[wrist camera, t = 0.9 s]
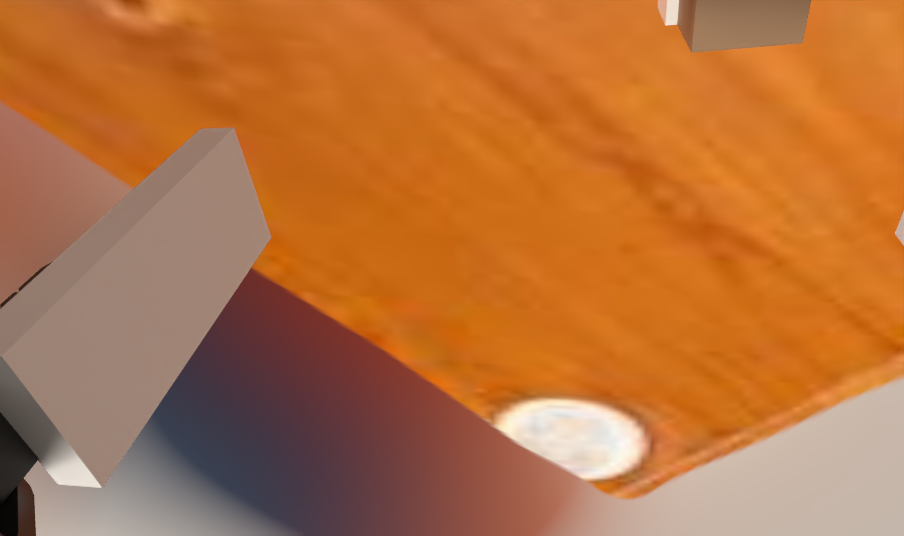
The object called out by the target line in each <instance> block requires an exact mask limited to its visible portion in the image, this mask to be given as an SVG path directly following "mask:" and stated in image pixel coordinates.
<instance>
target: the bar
mask: <svg viewBox="0 0 904 536" xmlns="http://www.w3.org/2000/svg"><path fill="white" fill-rule="evenodd" d="M810 3H811V0H679V8H678V21H677V25H678V27H679V29H680V31H681V33H682V35H683V37H684V39H685V41H686V43H687V45H688V46H689V48H690V50H691V52H704V51H716V50H728V49H739V48H751V47H763V46H775V45H787V44H799V43H803V39H804V33H805V28H806V23H807V18H808V13H809V8H810Z"/></svg>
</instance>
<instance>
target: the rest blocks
mask: <svg viewBox="0 0 904 536" xmlns="http://www.w3.org/2000/svg"><path fill="white" fill-rule="evenodd" d="M678 8H679V0H658V10H659V12H660V15H661V17H662V19H663V21H664V23H665V25H676V24H677V21H678Z"/></svg>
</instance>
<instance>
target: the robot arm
mask: <svg viewBox="0 0 904 536" xmlns="http://www.w3.org/2000/svg"><path fill="white" fill-rule="evenodd" d="M895 234H896V236H897V237H898V238H899V240H900V241H901V242H902V244H903V245H904V212H903V214H902V217H901V220H900V222H899V225H898V227H897V230H896V232H895ZM270 239H271V235H270V232H269V229H268V226H267V223H266V220H265V217H264V214H263V212H262V209H261V206H260V203H259V200H258V197H257V194H256V191H255V188H254V185H253V182H252V179H251V176H250V173H249V171H248V168H247V165H246V162H245V159H244V156H243V153H242V150H241V147H240V144H239V141H238V138H237V135H236V132H235V129H234V128H213V129H200V130H199V131H198V132H197V133H195V134H194V135H193V136H192V137H191V138H190V139H189V140H188V141H187V142H185V143H184V144H183V145H182V146H181V147H180V148H179V149H178V150H177V151H175V152H174V153H173V154H172V155H171V156H170V157H169V158H168V159H166V160H165V161H164V162H163V163H162V164H161V165H160V166H159V167H158V168H156V169H155V170H154V171H153V172H152V173H151V174H150V175H149V176H148V177H146V178H145V179H144V180H143V181H142V182H141V183H140V184H139V185H138V186H136V187H135V188H134V189H133V190H132V191H131V192H130V193H129V194H128V195H126V196H125V197H124V198H123V199H122V200H121V201H120V202H119V203H118V204H117V205H116V206H114V207H113V208H112V209H111V210H110V211H109V212H108V213H106V214H105V215H104V216H103V217H102V218H101V219H100V220H99V221H98V222H97V223H95V224H94V225H93V226H92V227H91V228H90V229H89V230H88V231H86V232H85V233H84V234H83V235H82V236H81V237H80V238H79V239H78V240H76V241H75V242H74V243H73V244H72V245H71V246H70V247H69V248H68V249H66V250H65V251H64V252H63V253H62V254H61V255H60V256H59V257H58V258H56V259H55V260H54V261H53V262H51V263H49V264H48V265H46V266H44V267H43V268H41V269H40V270H39V271H38V272H36V273H35V274H34V275H33V276H32V277H31V278H30V279H29V280H28V281H27V282H25V283H24V284H23V285H22V286H21V287H20V288H19V292H18V293H17V292H14V293H13V294H12V295H11V296H10V297H8V298H7V299H6V300H5V301H4V302H3V303H2V304H1V305H0V306H1V308H0V536H36V528H35V507H34V506H35V505H34V494H33V492H32V489H31V487H30V485H29V484H28V483H27V482H26V481H25V480H24V477H25V475H26V474H27V473H28V472H29V470H30V469H31V468H32V467H33V465H34V464H35V463H36V462H37V460H38V461H39V462H40V463H41V464H42V466H43V467H44V468H45V469H46V470H47V472H48V473H49V474H50V475H51V476H52V478H53V479H54V480H55V481H56V482H57V484H60V485H73V486H85V487H98V488H103V486H104V485H105V483H106V482H107V480H108V479H109V477H110V476H111V474H112V473H113V472H114V470H115V469H116V467H117V466H118V464H119V462H120V461H121V460H122V458H123V457H124V455H125V454H126V452H127V451H128V449H129V448H130V446H131V445H132V443H133V442H134V440H135V439H136V437H137V436H138V434H139V433H140V431H141V430H142V429H143V427H144V426H145V424H146V423H147V421H148V420H149V418H150V417H151V415H152V414H153V412H154V411H155V409H156V408H157V406H158V405H159V403H160V402H161V400H162V399H163V397H164V396H165V394H166V393H167V391H168V390H169V388H170V387H171V385H172V384H173V383H174V381H175V380H176V378H177V377H178V375H179V374H180V372H181V371H182V369H183V368H184V366H185V365H186V363H187V362H188V360H189V359H190V357H191V356H192V354H193V353H194V351H195V350H196V348H197V347H198V345H199V344H200V342H201V341H202V339H203V338H204V337H205V335H206V333H207V332H208V331H209V329H210V328H211V326H212V324H213V323H214V322H215V320H216V319H217V317H218V316H219V314H220V313H221V311H222V310H223V308H224V307H225V305H226V304H227V302H228V301H229V299H230V298H231V296H232V295H233V294H234V292H235V290H236V289H237V288H238V286H239V285H240V283H241V281H242V280H243V279H244V277H245V276H246V274H247V273H248V271H249V270H250V268H251V267H252V265H253V264H254V262H255V261H256V259H257V258H258V256H259V255H260V253H261V252H262V251H263V249H264V248H265V246H266V245H267V243H268V242H269V240H270Z"/></svg>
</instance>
